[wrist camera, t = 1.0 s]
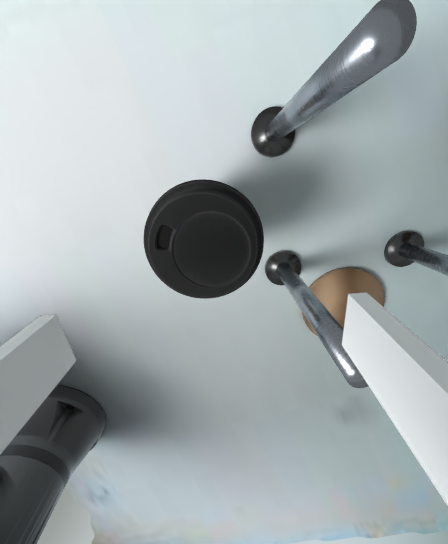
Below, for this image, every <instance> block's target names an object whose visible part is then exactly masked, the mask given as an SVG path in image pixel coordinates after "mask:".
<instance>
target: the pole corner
mask: <svg viewBox="0 0 448 544" xmlns="http://www.w3.org/2000/svg"><path fill="white" fill-rule="evenodd" d="M300 271H301V263H300V260H299V259H298V257H297V256H296V255H295V254H293V253H291V252H289V251H279V252H276V253H274V254H273V255H272V256H270V257H269V259H268V260H267V262H266V265H265V273H266V275H267V277H268V279H269V280H270V281H271V282H272V283H274V284H277V285H285V286H286V287H287V289H288V290H289V292H290V293H291V295H292V296H293V298H294V300H295V301H296V303H297V304H298V306H299V307H300V309H301V310H302V312H303V313H304V315H305V317H306V318H307V320H308V321H309V323H310V324H311V326H312V327H313V329H314V331H315V332H316V334H317V335H318V337H319V338H320V340H321V341H322V343H323V344H324V346H325V348H326V349H327V351H328V352H329V354H330V355H331V357H332V358H333V360H334V362H335V363H336V365H337V366H338V368H339V369H340V371H341V372H342V374H343V375H344V377H345V379H346V380H347V382H348V383H349V384H350V385H351V386H352V387H355V388H363V387H367V386H368V384H367V382H366V381H365V379H364V378H363V376H362V375H361V373H360V372H359V370H358V369H357V367H356V366H355V364H354V363H353V361H352V360H351V358H350V357H349V355H348V354H347V352H346V351H345V349H344V348H343V346H342V339H343V331H344V328H343V327H342V326H341V325H340V324H339V323H338V321H337V320H336V319H335V318H334V317H333V316H332V314H331V313H330V312H329V311H328V310H327V309H326V307H325V306H324V305H323V304H322V303H321V301H320V300H319V299H318V298H317V297H316V296H315V294H314V293H313V292H312V291H311V290H310V289H309V287H308V286H307V285H306V284H305V283H304V282H303V280H302V279H301V278H300V277H299V274H300Z"/></svg>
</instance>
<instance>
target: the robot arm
mask: <svg viewBox="0 0 448 544" xmlns="http://www.w3.org/2000/svg"><path fill="white" fill-rule="evenodd" d="M342 346H343V348H344V349H345V351H346V352H347V354H348V355H349V357H350V358H351V360H352V361H353V363H354V364H355V366H356V367H357V369H358V370H359V372H360V373H361V375H362V376H363V378H364V379H365V381H366V382H367V384H368V386H369V387H370V389H371V390H372V392H373V393H374V395H375V396H376V398H377V399H378V401H379V402H380V404H381V405H382V407H383V408H384V410H385V411H386V413H387V414H388V416H389V417H390V419H391V420H392V422H393V423H394V425H395V427H396V428H397V430H398V431H399V433H400V434H401V436H402V437H403V439H404V440H405V442H406V443H407V445H408V446H409V448H410V449H411V451H412V452H413V454H414V455H415V457H416V458H417V460H418V461H419V463H420V464H421V466H422V468H423V469H424V471H425V472H426V474H427V475H428V477H429V478H430V480H431V481H432V483H433V484H434V486H435V487H436V489H437V490H438V492H439V493H440V495H441V496H442V498H443V499H444V501H445V502H446V504H447V505H448V362H446V361H445V360H444V359H443V358H442V357H441V356H439V355H438V354H437V353H436V352H435V351H434V350H433V349H431V348H430V347H429V346H428V345H427V344H426V343H424V342H423V341H422V340H421V339H420V338H419V337H418V336H416V335H415V334H414V333H413V332H412V331H411V330H409V329H408V328H407V327H406V326H405V325H404V324H402V323H401V322H400V321H399V320H398V319H397V318H396V317H394V316H393V315H392V314H391V313H390V312H389V311H387V310H386V309H385V308H384V307H383V306H382V305H380V304H379V303H378V302H377V301H376V300H375V299H374V298H372V297H371V296H370V295H369V294H368V293H367V292H366V293H352V294H348V300H347V308H346V315H345V323H344V331H343V339H342ZM76 361H77V360H76V358H75V356H74V353H73V351H72V349H71V347H70V344H69V342H68V340H67V337H66V335H65V333H64V330H63V328H62V326H61V324H60V321H59V319H58V317H57V315H43V316H40V317H38V318H37V319H36V320H34V321H33V322H32V323H30V324H29V325H28V326H26V327H25V328H24V329H22V330H21V331H20V332H18V333H17V334H16V335H14V336H13V337H12V338H10V339H9V340H8V341H6V342H5V343H4V344H2V345H1V346H0V544H37V541H38V540H39V538H40V536H41V534H42V532H43V530H44V528H45V526H46V523H47V522H48V519H49V517H50V515H51V513H52V511H53V509H54V507H55V505H56V503H57V501H58V499H59V497H60V495H61V493H62V491H63V489H64V487H65V485H66V483H67V481H68V479H69V477H70V475H71V474H72V472H73V471H74V470H75V469H76V468H77V466H78V465H79V464H80V462H81V461H82V460H83V459H84V457H85V456H86V455H87V453H88V452H89V451H90V450H91V449H92V448H93V447H94V446H95V445H96V444H97V442H98V441H99V439H100V437H101V435H102V433H103V431H104V428H105V425H106V417H105V413H104V411H103V409H102V408H101V406H100V405H99V404H98V403H97V402H96V401H95V400H94V399H93V398H91V397H90V396H88V395H86V394H85V393H83V392H80V391H78V390H75V389H72V388H68V387H62V386H56V385H57V384H58V383H59V382H60V381H61V379H62V378H63V377H64V376H65V374H66V373H67V372H68V371H69V369H70V368H71V367H72V366H73V365H74V363H75V362H76Z"/></svg>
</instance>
